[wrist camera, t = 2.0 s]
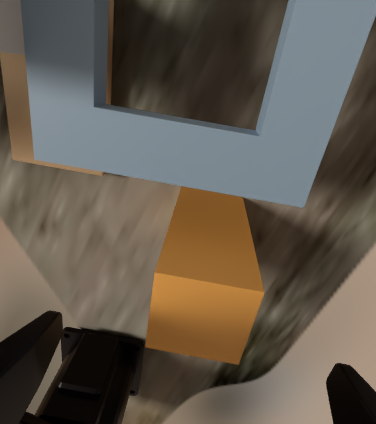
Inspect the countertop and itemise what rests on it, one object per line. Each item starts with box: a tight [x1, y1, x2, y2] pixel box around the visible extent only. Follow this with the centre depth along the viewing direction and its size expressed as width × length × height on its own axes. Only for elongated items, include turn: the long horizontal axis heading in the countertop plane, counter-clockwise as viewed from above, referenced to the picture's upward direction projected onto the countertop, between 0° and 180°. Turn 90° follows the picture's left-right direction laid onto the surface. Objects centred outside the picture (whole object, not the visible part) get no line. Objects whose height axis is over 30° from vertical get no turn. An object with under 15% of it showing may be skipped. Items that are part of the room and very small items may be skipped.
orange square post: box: [145, 187, 265, 365], centre depth 13 cm, size 4×4×8 cm
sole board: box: [0, 0, 114, 176], centre depth 13 cm, size 14×5×1 cm, turn 171°
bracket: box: [0, 0, 376, 208], centre depth 9 cm, size 10×13×8 cm
